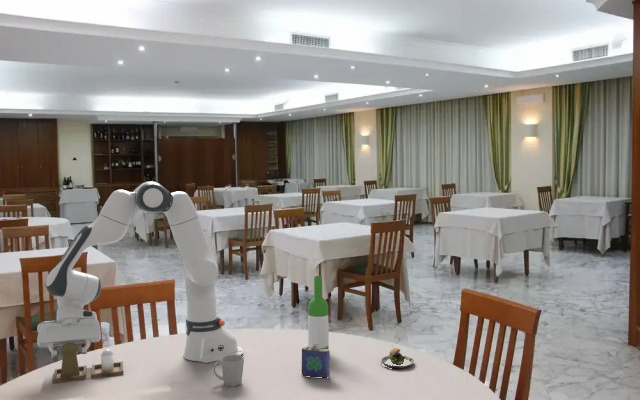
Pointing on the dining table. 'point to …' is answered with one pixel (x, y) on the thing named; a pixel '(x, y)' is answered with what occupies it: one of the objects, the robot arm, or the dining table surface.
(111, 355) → the salt cellar
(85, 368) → the cruet board
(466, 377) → the dining table surface
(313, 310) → the wine bottle
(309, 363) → the flask
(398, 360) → the burger
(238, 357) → the cup
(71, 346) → the olive green stopper
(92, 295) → the robot arm
